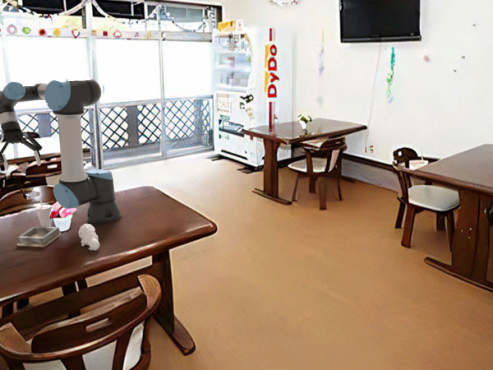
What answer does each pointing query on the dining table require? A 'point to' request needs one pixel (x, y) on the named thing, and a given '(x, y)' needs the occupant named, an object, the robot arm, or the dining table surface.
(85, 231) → the white lumpy figurine
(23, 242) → the pocket plate
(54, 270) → the dining table surface
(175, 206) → the dining table surface
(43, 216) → the smoothie
